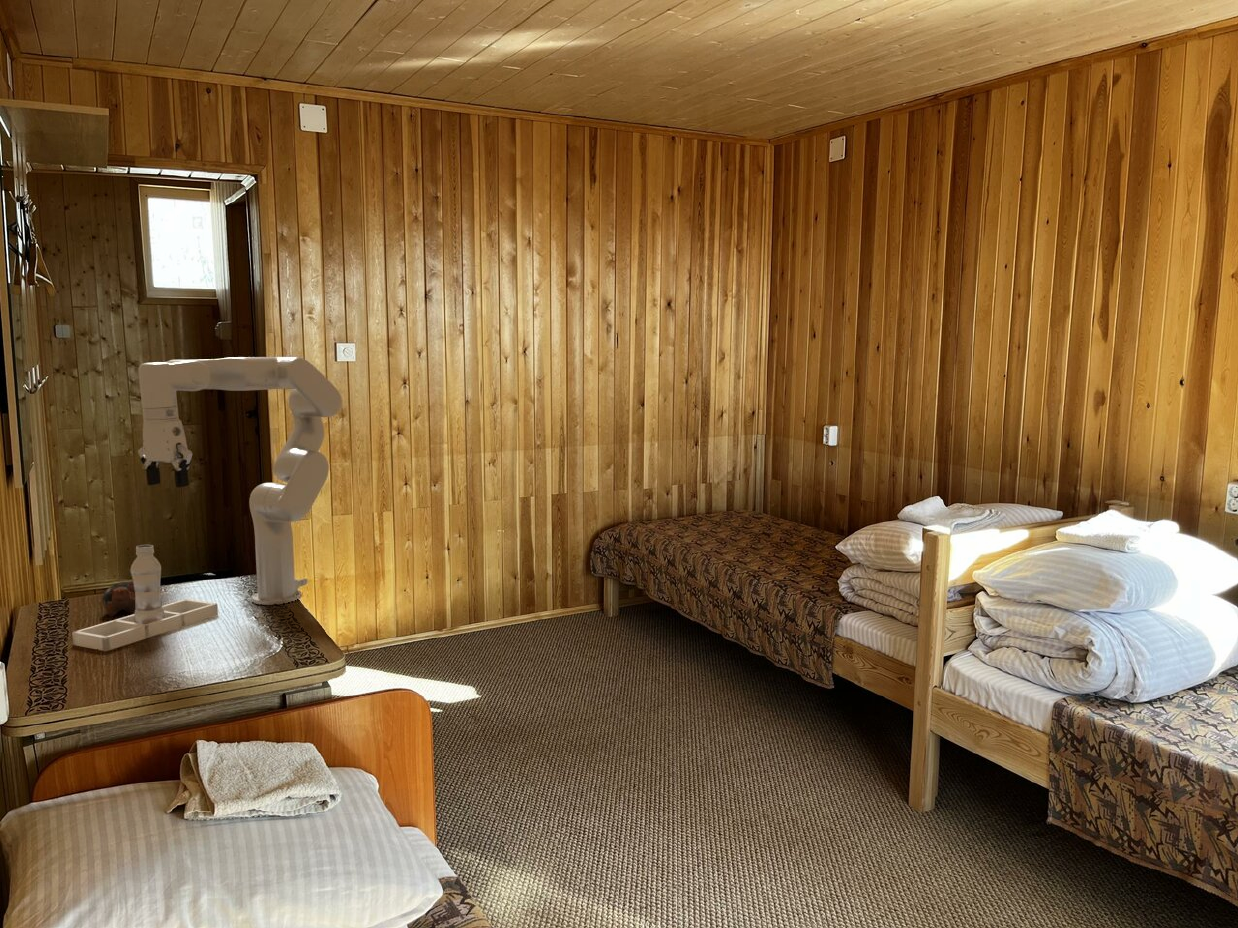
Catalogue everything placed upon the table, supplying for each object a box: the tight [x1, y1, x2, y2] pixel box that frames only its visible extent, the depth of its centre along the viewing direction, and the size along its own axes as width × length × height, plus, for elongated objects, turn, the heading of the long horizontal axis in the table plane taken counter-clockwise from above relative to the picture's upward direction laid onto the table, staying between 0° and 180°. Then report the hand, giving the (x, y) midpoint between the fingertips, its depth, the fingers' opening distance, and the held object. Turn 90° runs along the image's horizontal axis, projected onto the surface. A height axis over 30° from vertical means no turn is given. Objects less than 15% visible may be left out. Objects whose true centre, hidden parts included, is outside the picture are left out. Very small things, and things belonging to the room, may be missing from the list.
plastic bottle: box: [130, 544, 165, 624], centre depth 222 cm, size 6×7×20 cm
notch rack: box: [71, 598, 219, 652], centre depth 222 cm, size 31×11×3 cm, turn 156°
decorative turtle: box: [101, 581, 136, 617], centre depth 237 cm, size 10×15×8 cm, turn 27°
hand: (168, 485), depth 222 cm, fingers open, 9 cm apart
